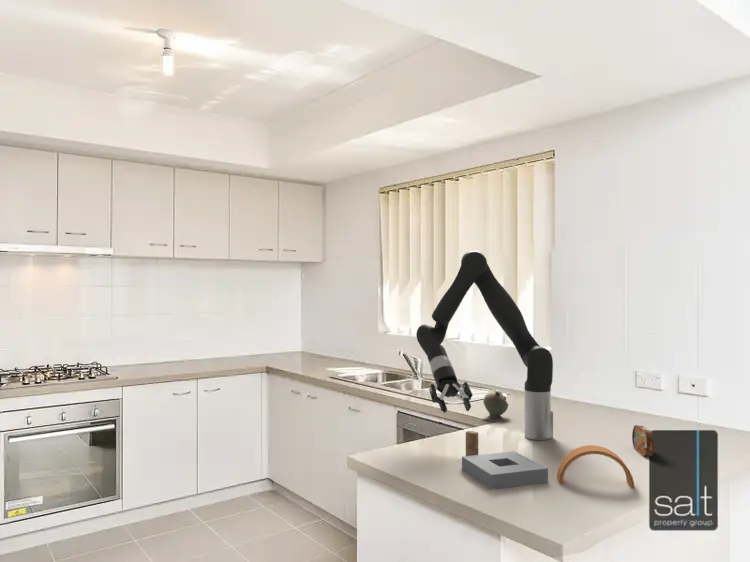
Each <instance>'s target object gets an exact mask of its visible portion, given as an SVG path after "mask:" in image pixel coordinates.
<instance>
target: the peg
mask: <svg viewBox="0 0 750 562" xmlns="http://www.w3.org/2000/svg"><path fill="white" fill-rule="evenodd" d="M472 455H479V432H478V431H474V430H467V431H465V456H472Z"/></svg>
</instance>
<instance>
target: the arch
mask: <svg viewBox="0 0 750 562" xmlns="http://www.w3.org/2000/svg"><path fill="white" fill-rule="evenodd" d="M587 455H600V456H605V457H607V458H609V459H612V460H614V462H616V463H618V464H619V466H621V468H622V469H623V472H624V473H625V477H626V484H627V485H628V487H629V488H630V489H635V481H634V478H633V475H632V473H631V470H630V469H629V468H628V466H627V465H626V464H625V462H624V461H623V459H621V457H620V456H619V455H618V454H617V453H615V452H613V451H612V450H610V449H609V448H606V447H603V446H600V445H596V444H594V445H593V444H592V445H582V446H579V447H576V448H575V449H572V450H571V451H570V452H568V453H567V454H566V455H565V456H564V457H562V459H561V462H560V463H559V466H558V468H557V473H556V478H557V481H558V484H560V483H561V484H560V485H562V484H563V481H564V476H565V474H566V471H567V469H568V467H569V466H570V465H571V464H572V463H573V462H575V461H576V460H578V459H579V458H581V457H585V456H587Z"/></svg>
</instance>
